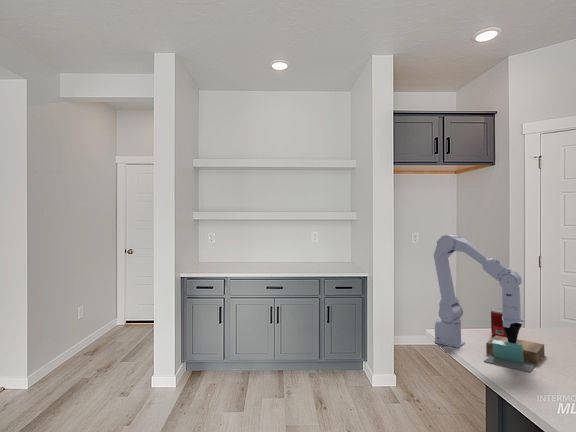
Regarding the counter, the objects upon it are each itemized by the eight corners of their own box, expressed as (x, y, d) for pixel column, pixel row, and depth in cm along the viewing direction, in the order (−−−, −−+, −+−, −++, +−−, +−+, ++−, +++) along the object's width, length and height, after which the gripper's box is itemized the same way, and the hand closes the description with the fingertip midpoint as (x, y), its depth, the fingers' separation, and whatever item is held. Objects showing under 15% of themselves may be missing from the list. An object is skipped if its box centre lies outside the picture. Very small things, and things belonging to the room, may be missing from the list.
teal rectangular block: (495, 353, 137) (494, 357, 136) (493, 339, 136) (491, 342, 134) (524, 359, 131) (522, 363, 129) (522, 345, 129) (520, 348, 128)
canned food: (516, 338, 157) (516, 312, 157) (497, 339, 157) (496, 312, 157) (506, 333, 164) (505, 308, 165) (488, 333, 165) (487, 308, 165)
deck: (486, 353, 140) (486, 342, 140) (496, 345, 149) (496, 335, 149) (536, 364, 129) (536, 352, 129) (544, 355, 137) (544, 344, 137)
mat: (483, 361, 132) (483, 361, 132) (491, 355, 138) (491, 354, 138) (530, 372, 122) (530, 371, 122) (536, 364, 129) (536, 364, 129)
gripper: (518, 311, 129) (519, 350, 128) (528, 304, 139) (529, 340, 139) (495, 307, 134) (496, 346, 133) (507, 301, 144) (508, 337, 144)
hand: (512, 343), depth 136 cm, fingers closed
